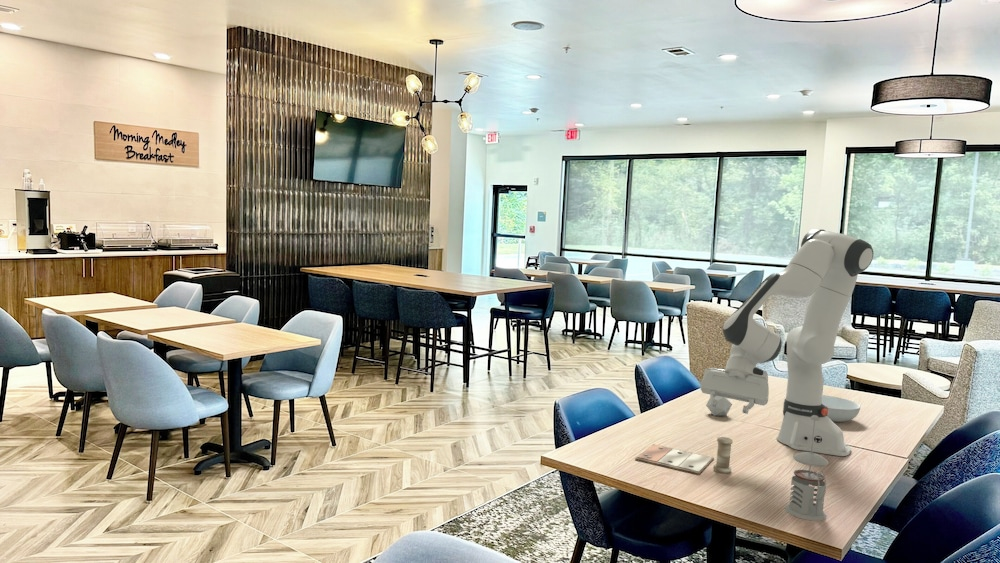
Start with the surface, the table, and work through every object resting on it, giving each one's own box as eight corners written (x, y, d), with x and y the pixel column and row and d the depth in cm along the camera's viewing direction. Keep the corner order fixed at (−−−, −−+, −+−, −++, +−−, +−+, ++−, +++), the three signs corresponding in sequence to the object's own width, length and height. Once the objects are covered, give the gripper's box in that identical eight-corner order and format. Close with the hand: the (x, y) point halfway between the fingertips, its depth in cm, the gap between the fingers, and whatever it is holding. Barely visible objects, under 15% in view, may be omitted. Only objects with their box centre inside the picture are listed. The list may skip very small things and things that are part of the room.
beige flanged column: (732, 470, 201) (735, 439, 200) (729, 474, 197) (731, 443, 196) (715, 466, 204) (718, 435, 203) (711, 470, 199) (714, 439, 199)
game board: (713, 459, 210) (714, 456, 210) (699, 474, 195) (699, 472, 195) (653, 445, 219) (653, 443, 219) (635, 459, 205) (635, 457, 205)
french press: (815, 505, 178) (824, 410, 176) (838, 524, 166) (849, 424, 164) (777, 503, 178) (786, 408, 176) (798, 523, 166) (808, 422, 164)
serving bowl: (789, 415, 267) (791, 398, 267) (813, 408, 281) (815, 392, 281) (845, 429, 252) (847, 411, 251) (867, 421, 266) (869, 404, 265)
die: (729, 421, 257) (738, 399, 260) (709, 408, 256) (720, 386, 260) (718, 422, 264) (727, 401, 268) (699, 410, 264) (709, 389, 267)
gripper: (705, 360, 220) (694, 395, 213) (772, 373, 211) (763, 410, 203) (706, 372, 225) (695, 407, 217) (772, 385, 215) (763, 422, 207)
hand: (729, 408), depth 210 cm, fingers open, 8 cm apart
